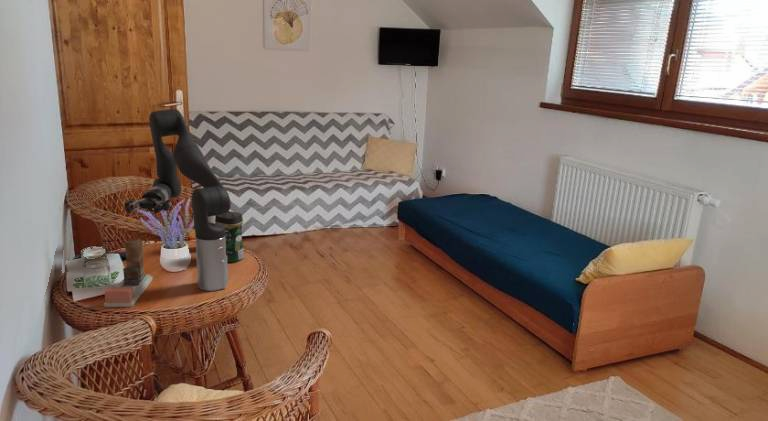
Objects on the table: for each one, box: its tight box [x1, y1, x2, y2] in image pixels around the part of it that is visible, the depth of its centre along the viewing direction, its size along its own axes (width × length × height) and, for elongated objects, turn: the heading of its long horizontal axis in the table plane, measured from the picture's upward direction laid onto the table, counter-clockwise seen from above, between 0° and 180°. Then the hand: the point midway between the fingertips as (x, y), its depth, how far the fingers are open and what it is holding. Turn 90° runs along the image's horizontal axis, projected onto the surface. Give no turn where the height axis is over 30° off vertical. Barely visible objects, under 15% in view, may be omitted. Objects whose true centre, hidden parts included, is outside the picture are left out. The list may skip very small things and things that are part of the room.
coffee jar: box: [215, 210, 244, 263], centre depth 203 cm, size 10×8×19 cm
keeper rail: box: [103, 273, 153, 308], centre depth 173 cm, size 8×21×5 cm, turn 7°
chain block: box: [122, 238, 146, 285], centre depth 177 cm, size 4×7×13 cm, turn 7°
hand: (142, 210), depth 185 cm, fingers open, 8 cm apart
